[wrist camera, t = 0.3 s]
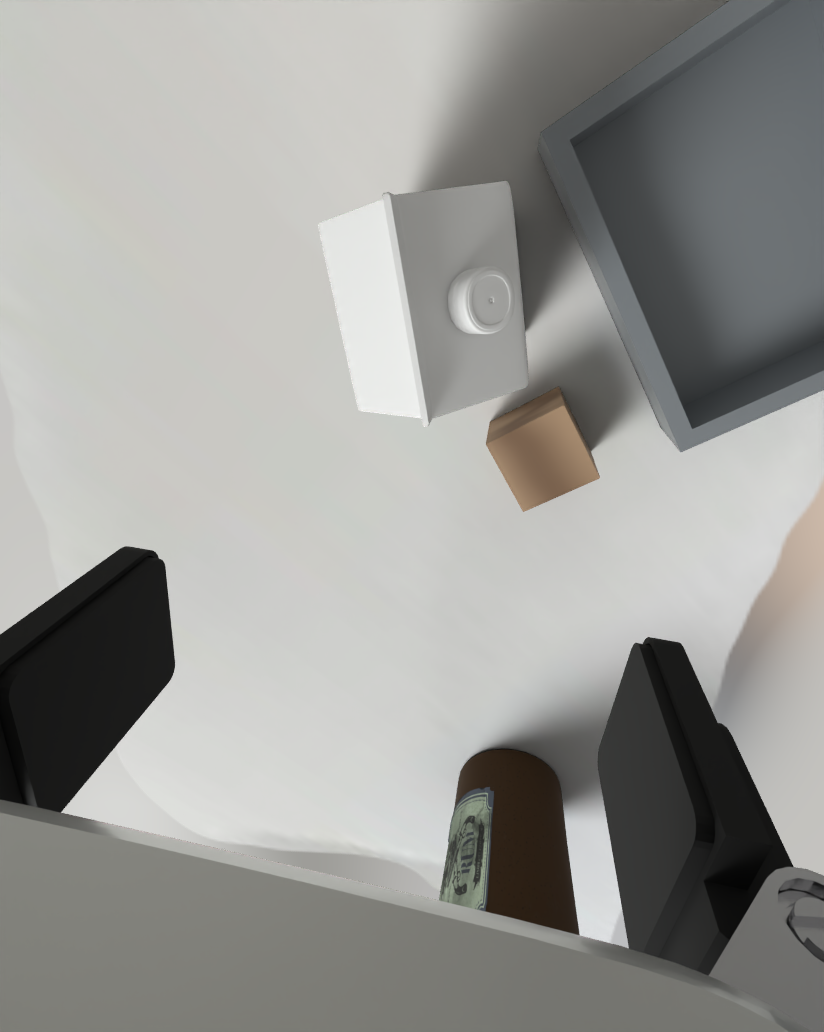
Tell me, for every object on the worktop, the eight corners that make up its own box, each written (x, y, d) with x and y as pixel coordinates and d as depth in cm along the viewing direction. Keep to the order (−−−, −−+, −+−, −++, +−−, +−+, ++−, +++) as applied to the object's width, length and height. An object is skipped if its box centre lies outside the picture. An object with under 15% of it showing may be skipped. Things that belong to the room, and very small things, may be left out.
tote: (815, -42, 26) (876, -102, 22) (911, 312, 31) (976, 323, 27) (537, 149, 31) (540, 132, 26) (660, 427, 36) (680, 452, 32)
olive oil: (591, 779, 50) (649, 1201, 28) (525, 838, 55) (530, 1238, 33) (490, 724, 49) (467, 1112, 27) (432, 788, 54) (372, 1163, 32)
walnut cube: (558, 386, 36) (563, 405, 32) (590, 451, 38) (600, 478, 33) (489, 421, 38) (485, 444, 34) (522, 482, 39) (523, 512, 35)
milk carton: (416, 352, 37) (329, 439, 20) (395, 234, 34) (274, 217, 17) (525, 335, 35) (531, 413, 18) (513, 209, 32) (508, 163, 15)
